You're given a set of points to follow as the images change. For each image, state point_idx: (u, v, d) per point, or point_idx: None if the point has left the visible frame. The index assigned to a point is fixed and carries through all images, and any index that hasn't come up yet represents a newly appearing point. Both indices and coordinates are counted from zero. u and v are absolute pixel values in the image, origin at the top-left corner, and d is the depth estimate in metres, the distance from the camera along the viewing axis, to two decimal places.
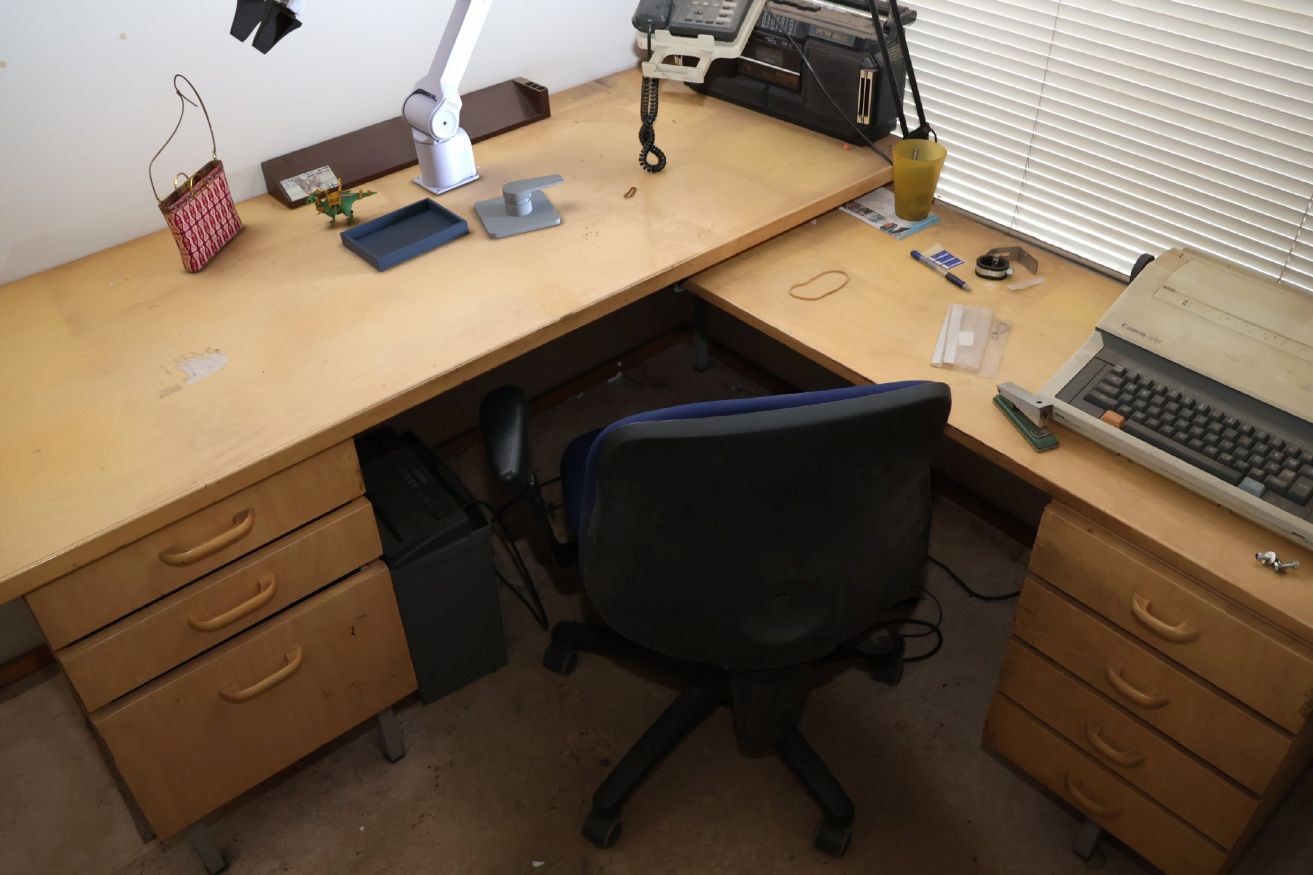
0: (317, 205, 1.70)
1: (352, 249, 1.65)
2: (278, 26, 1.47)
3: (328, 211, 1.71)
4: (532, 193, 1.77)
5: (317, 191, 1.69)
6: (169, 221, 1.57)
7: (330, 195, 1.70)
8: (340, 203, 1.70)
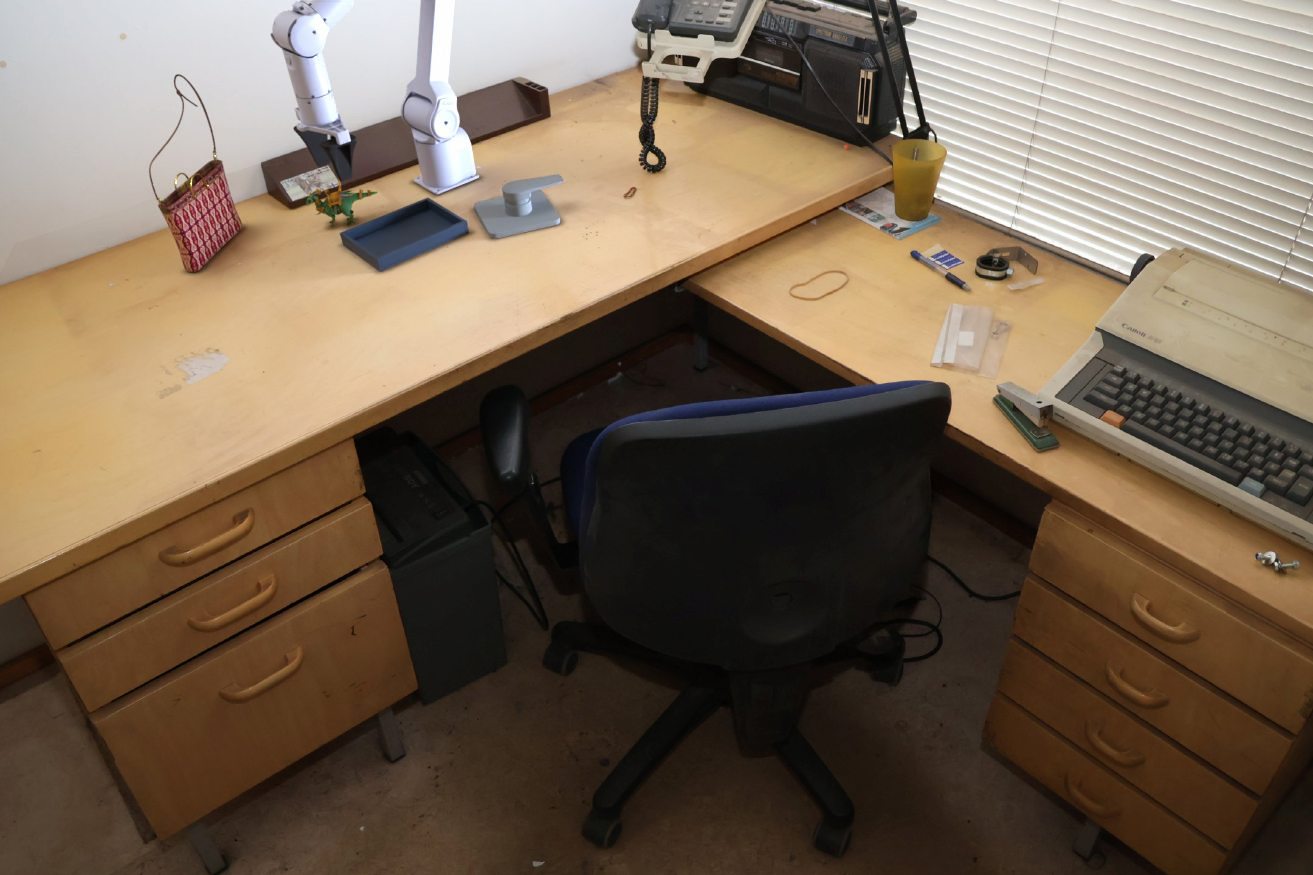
0: (317, 205, 1.70)
1: (352, 249, 1.65)
2: (343, 153, 1.62)
3: (328, 211, 1.71)
4: (532, 193, 1.77)
5: (317, 191, 1.69)
6: (169, 221, 1.57)
7: (330, 195, 1.70)
8: (340, 203, 1.70)
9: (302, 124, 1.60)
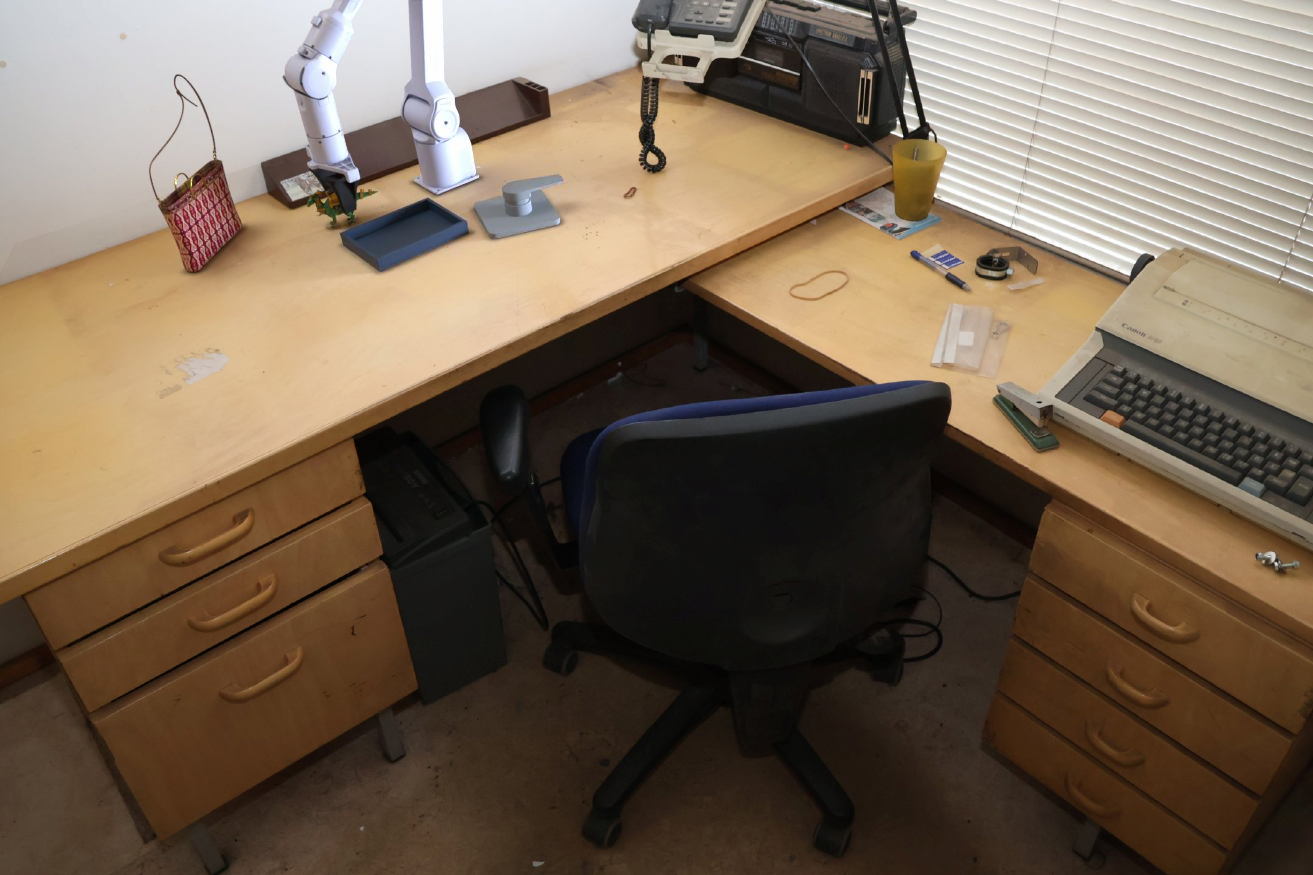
0: (318, 206, 1.70)
1: (352, 249, 1.65)
2: (347, 186, 1.68)
3: (329, 212, 1.70)
4: (532, 193, 1.77)
5: (318, 192, 1.68)
6: (169, 221, 1.57)
7: (331, 196, 1.69)
8: None
9: (313, 162, 1.64)
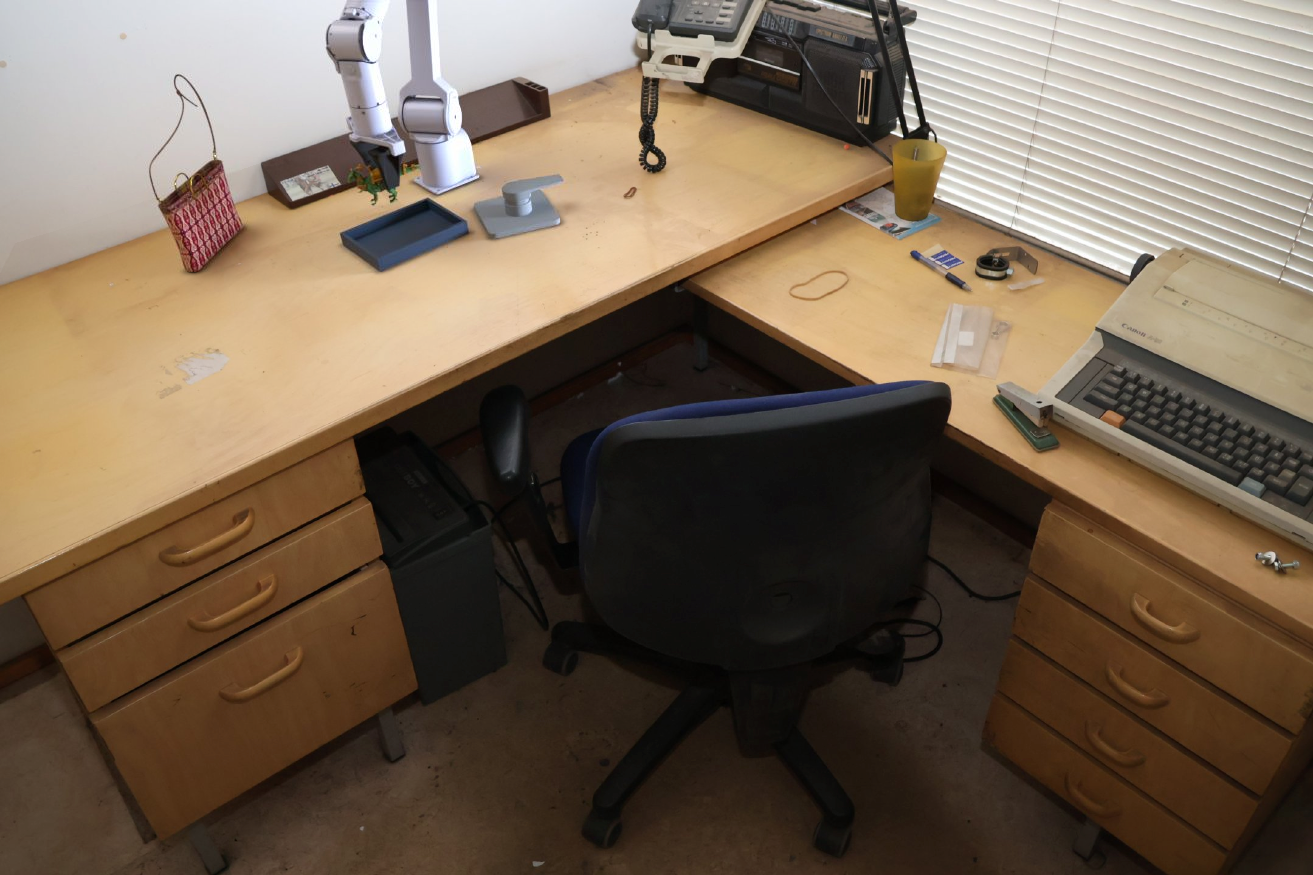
0: (359, 182, 1.61)
1: (352, 249, 1.65)
2: (391, 160, 1.58)
3: (371, 188, 1.61)
4: (532, 193, 1.77)
5: (359, 167, 1.59)
6: (169, 221, 1.57)
7: (373, 171, 1.60)
8: None
9: (355, 134, 1.55)
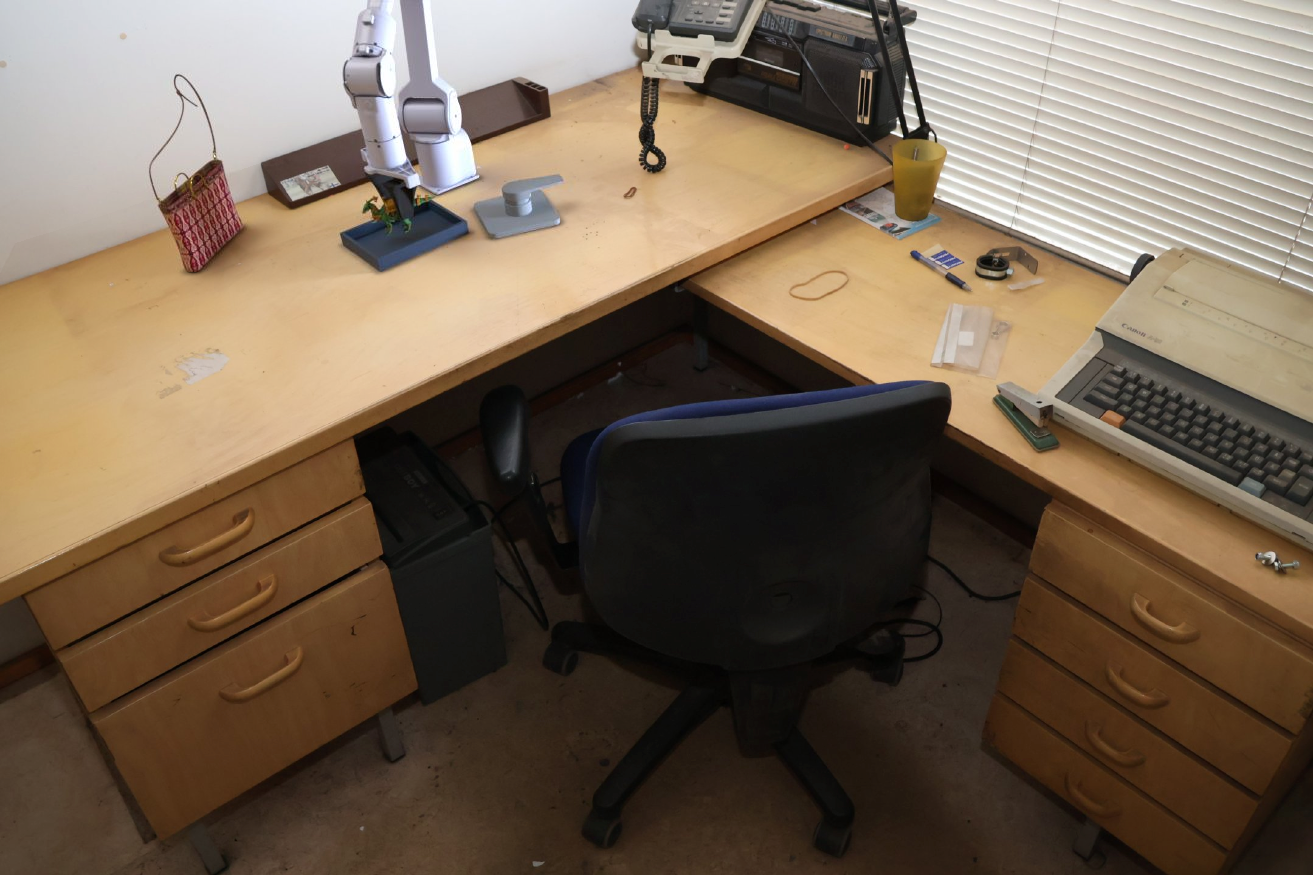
0: (374, 213, 1.63)
1: (352, 249, 1.65)
2: (405, 192, 1.61)
3: (385, 219, 1.64)
4: (532, 193, 1.77)
5: (374, 198, 1.62)
6: (169, 221, 1.57)
7: (387, 202, 1.63)
8: None
9: (370, 167, 1.58)
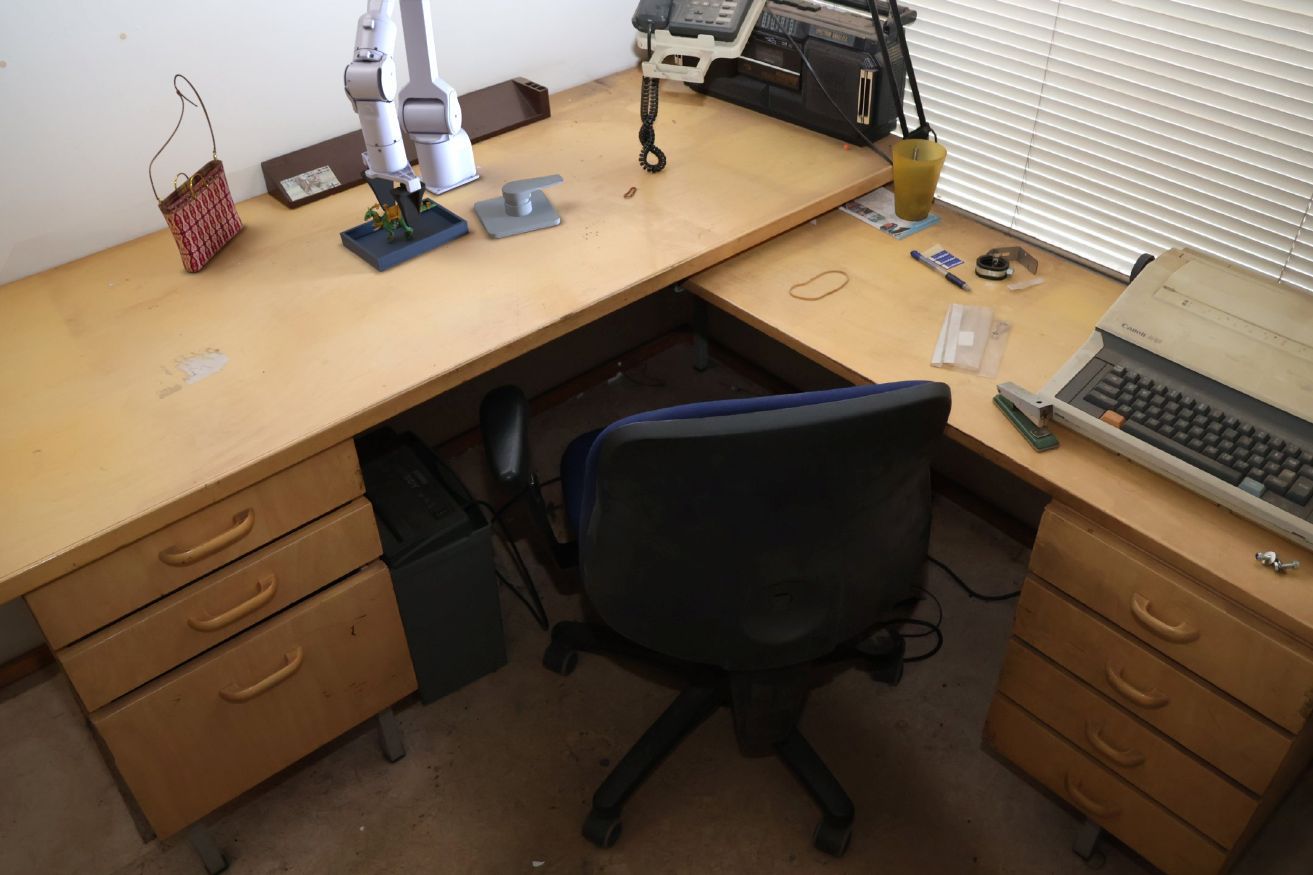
0: (375, 220, 1.64)
1: (352, 249, 1.65)
2: (412, 199, 1.61)
3: (387, 226, 1.65)
4: (532, 193, 1.77)
5: (376, 206, 1.63)
6: (169, 221, 1.57)
7: (389, 209, 1.64)
8: (400, 217, 1.64)
9: (371, 171, 1.58)
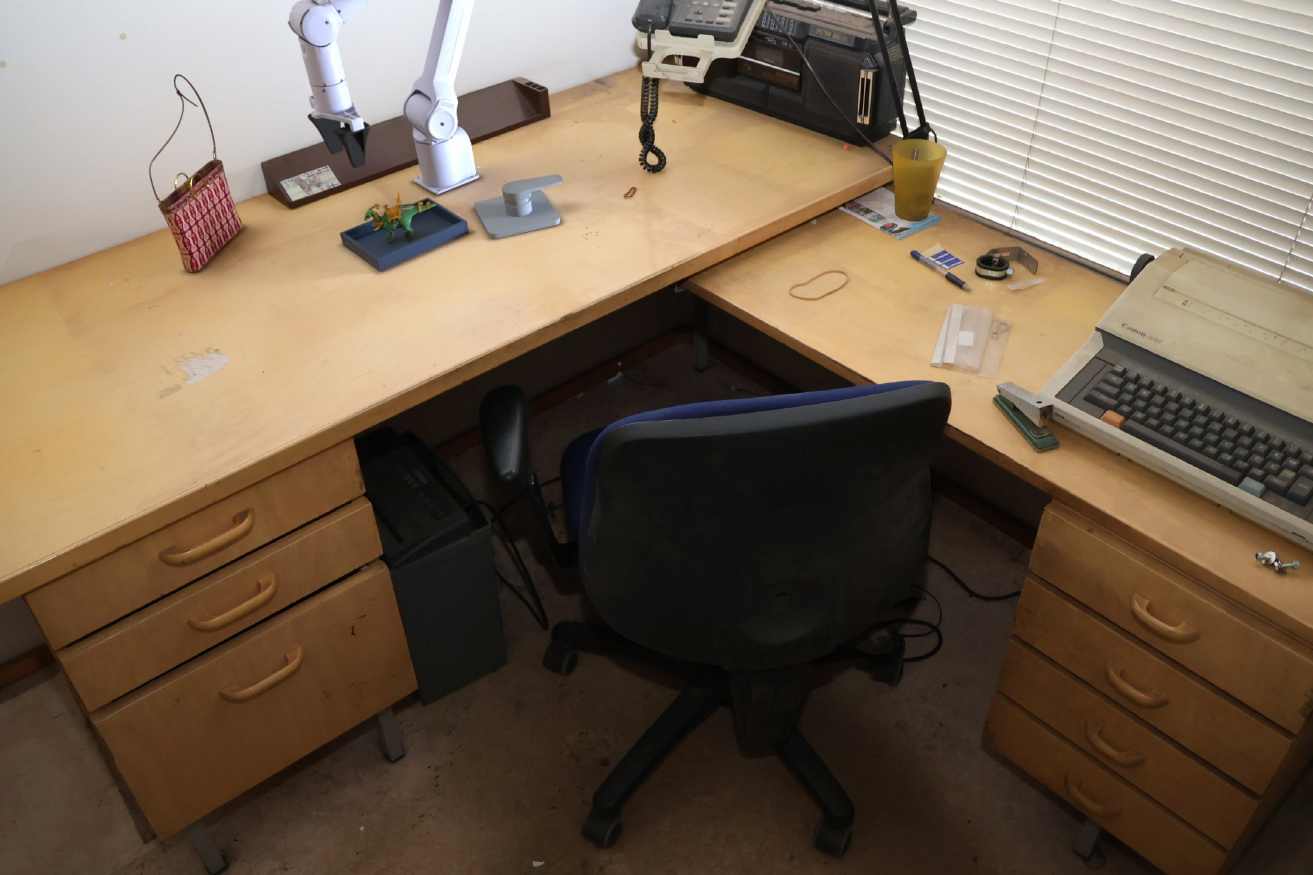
0: (375, 220, 1.64)
1: (352, 249, 1.65)
2: (356, 140, 1.66)
3: (387, 226, 1.65)
4: (532, 193, 1.77)
5: (376, 206, 1.63)
6: (169, 221, 1.57)
7: (389, 209, 1.64)
8: (400, 217, 1.64)
9: (316, 112, 1.64)
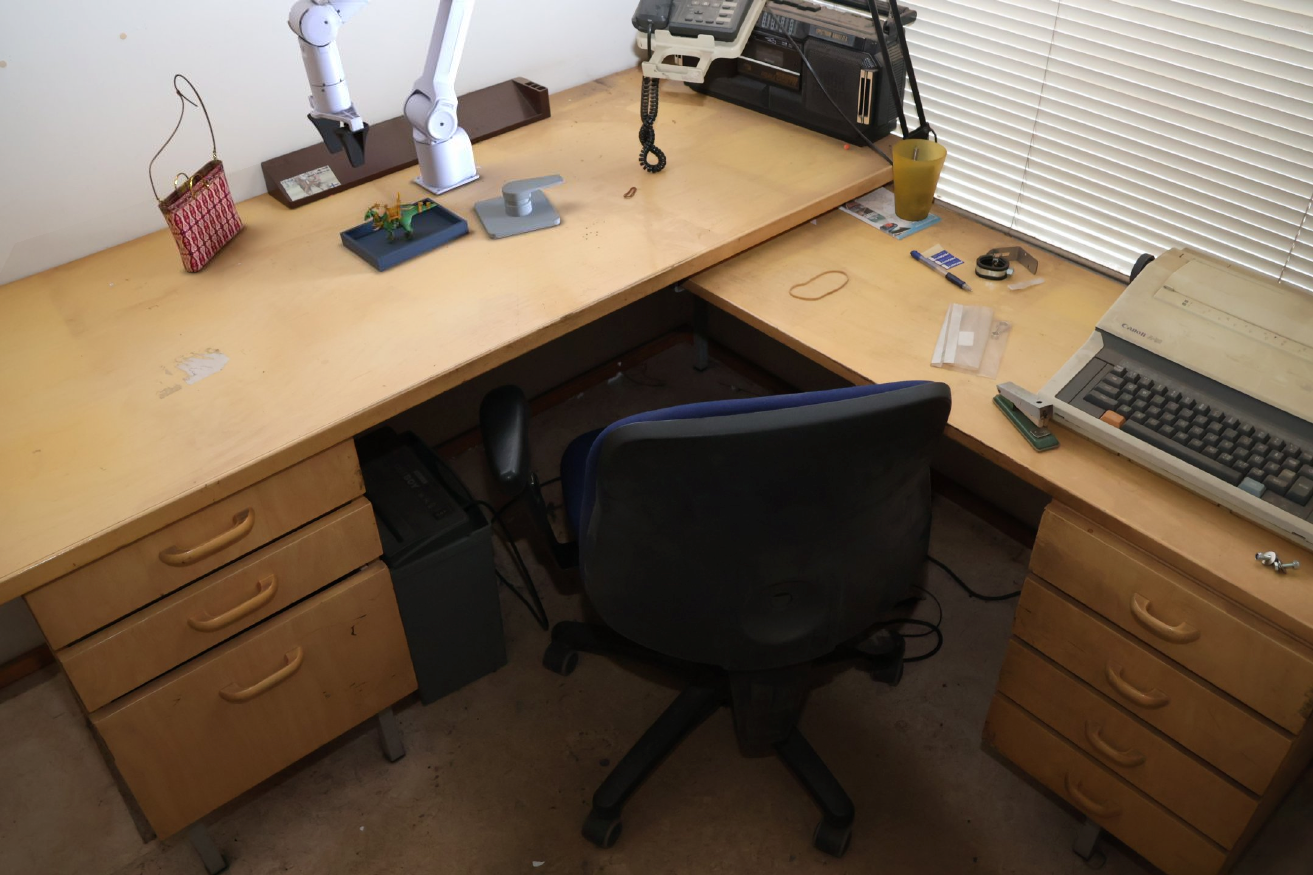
0: (375, 220, 1.64)
1: (352, 249, 1.65)
2: (356, 139, 1.66)
3: (387, 226, 1.65)
4: (532, 193, 1.77)
5: (376, 206, 1.63)
6: (169, 221, 1.57)
7: (389, 209, 1.64)
8: (400, 217, 1.64)
9: (316, 111, 1.64)
